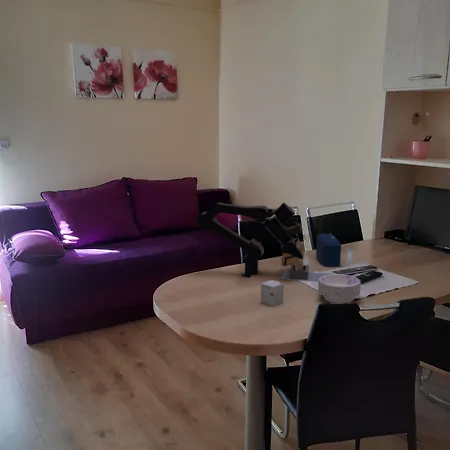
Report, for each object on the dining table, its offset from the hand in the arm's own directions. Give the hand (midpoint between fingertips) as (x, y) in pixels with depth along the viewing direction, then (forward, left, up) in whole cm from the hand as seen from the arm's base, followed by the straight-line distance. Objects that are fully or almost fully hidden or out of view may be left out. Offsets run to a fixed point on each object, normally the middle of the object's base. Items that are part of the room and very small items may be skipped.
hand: (303, 256), depth 196 cm
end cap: (0, +1, -8) cm, 9 cm away
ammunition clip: (+15, +12, -10) cm, 21 cm away
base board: (+1, -3, -9) cm, 10 cm away
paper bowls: (-17, -21, -10) cm, 29 cm away
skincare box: (-32, -1, -10) cm, 33 cm away
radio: (+29, -1, -10) cm, 31 cm away
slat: (0, +1, -7) cm, 7 cm away
